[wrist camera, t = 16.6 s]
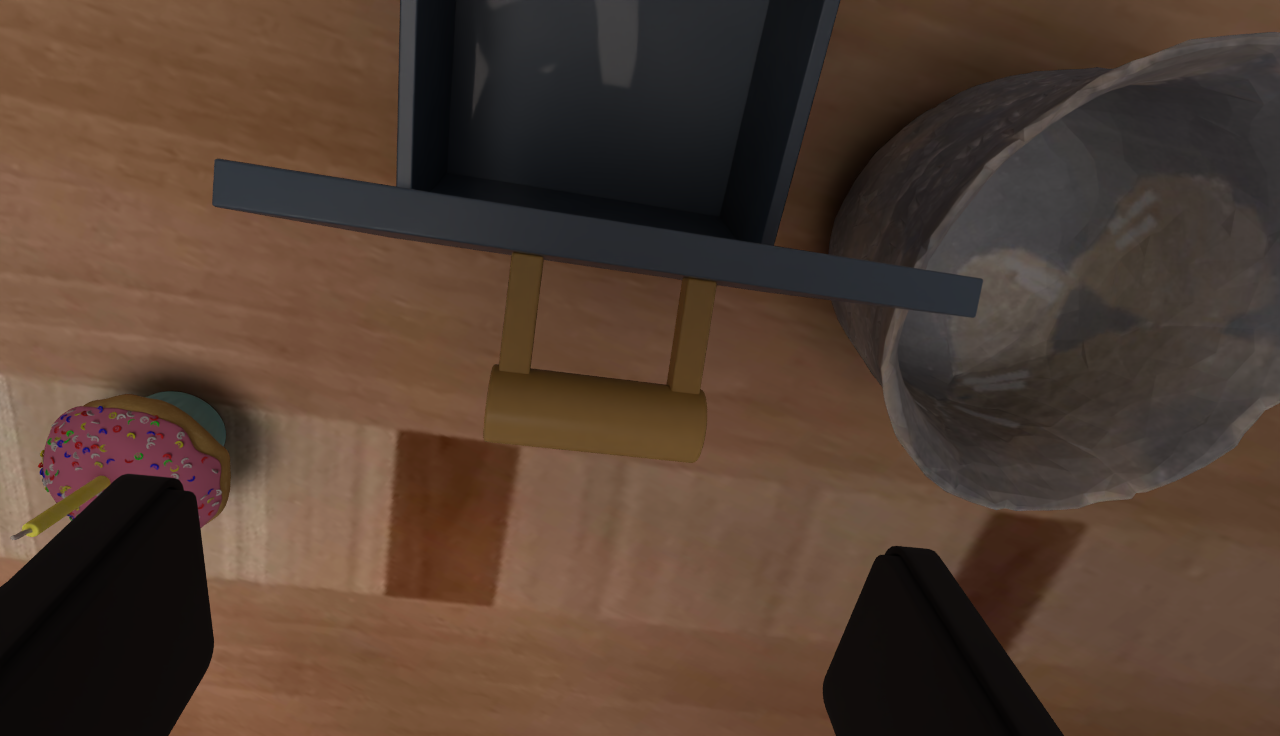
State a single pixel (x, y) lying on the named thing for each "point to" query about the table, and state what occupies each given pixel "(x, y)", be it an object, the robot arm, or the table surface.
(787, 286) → the lid
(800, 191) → the table surface
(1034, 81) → the bowl
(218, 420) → the cupcake
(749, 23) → the chest
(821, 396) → the table surface
